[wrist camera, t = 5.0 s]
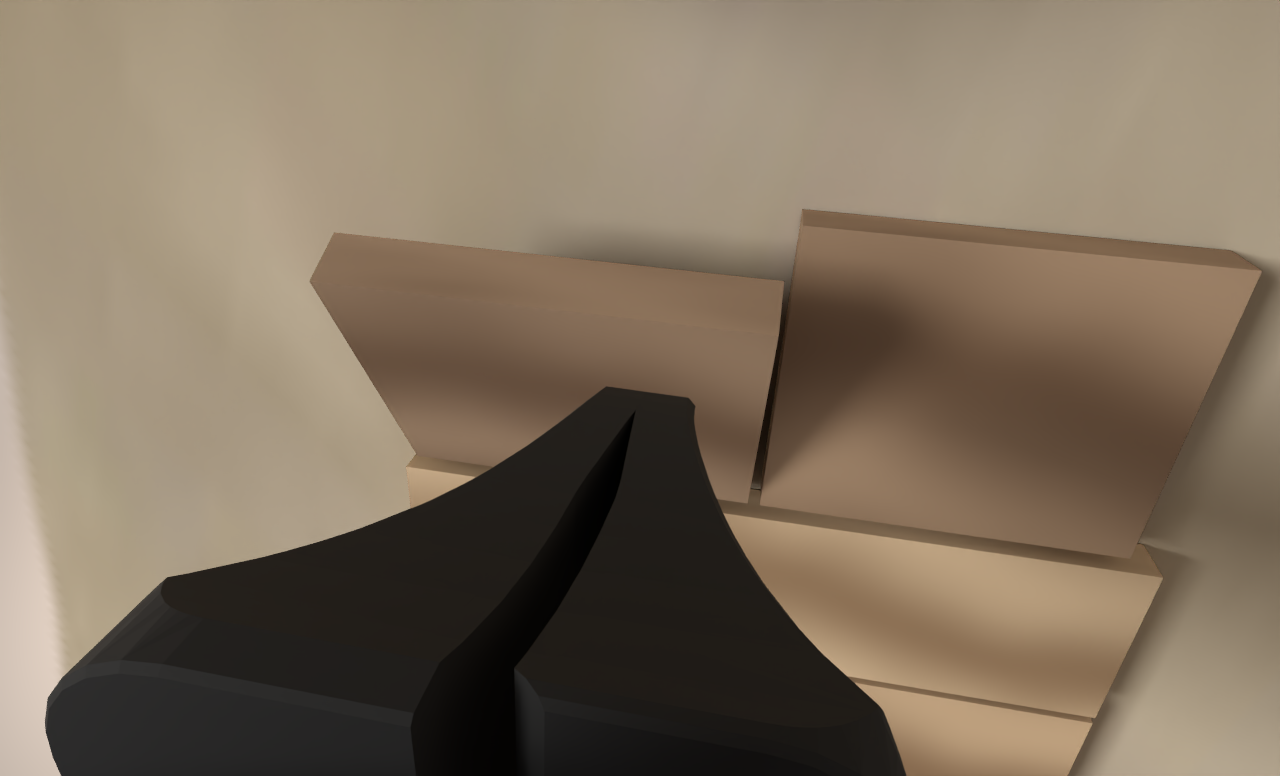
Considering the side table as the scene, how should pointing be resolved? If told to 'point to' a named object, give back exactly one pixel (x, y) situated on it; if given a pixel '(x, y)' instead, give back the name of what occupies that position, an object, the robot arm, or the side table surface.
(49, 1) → the side table surface
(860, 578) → the laid oak row
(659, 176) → the side table surface
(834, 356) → the plank
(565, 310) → the plank
